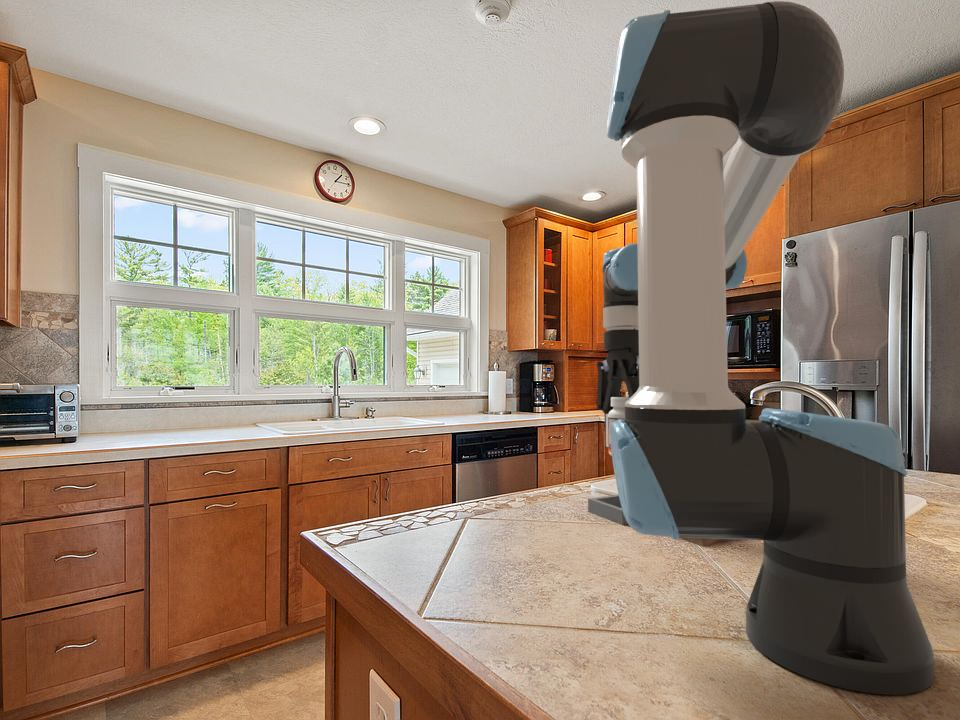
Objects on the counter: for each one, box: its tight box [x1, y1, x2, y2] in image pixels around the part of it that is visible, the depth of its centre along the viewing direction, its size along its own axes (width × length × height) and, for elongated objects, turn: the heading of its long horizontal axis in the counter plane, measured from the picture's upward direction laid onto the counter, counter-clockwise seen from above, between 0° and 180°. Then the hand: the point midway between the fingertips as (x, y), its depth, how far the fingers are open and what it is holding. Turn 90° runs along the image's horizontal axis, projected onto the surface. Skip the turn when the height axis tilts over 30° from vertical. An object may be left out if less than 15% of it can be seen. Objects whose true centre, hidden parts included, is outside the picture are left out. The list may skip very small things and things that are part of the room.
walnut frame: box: [679, 537, 735, 547], centre depth 89 cm, size 11×11×1 cm
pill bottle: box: [608, 396, 629, 457], centre depth 100 cm, size 6×6×11 cm
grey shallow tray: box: [587, 494, 629, 525], centre depth 102 cm, size 20×10×2 cm, turn 115°
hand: (624, 448), depth 100 cm, fingers closed on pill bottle, 6 cm apart
